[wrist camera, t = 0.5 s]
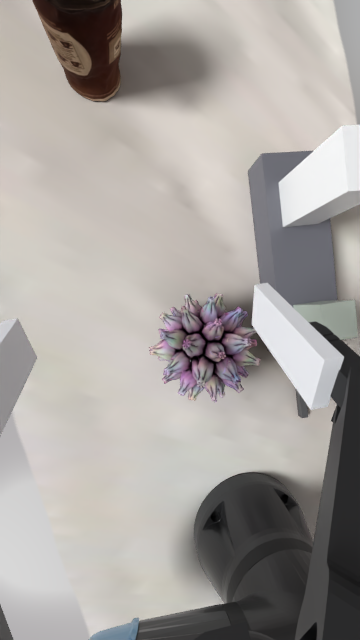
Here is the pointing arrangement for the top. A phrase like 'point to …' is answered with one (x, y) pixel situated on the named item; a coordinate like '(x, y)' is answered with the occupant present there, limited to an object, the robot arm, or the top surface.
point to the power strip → (289, 241)
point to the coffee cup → (86, 43)
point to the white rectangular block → (323, 181)
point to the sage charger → (332, 316)
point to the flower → (205, 347)
